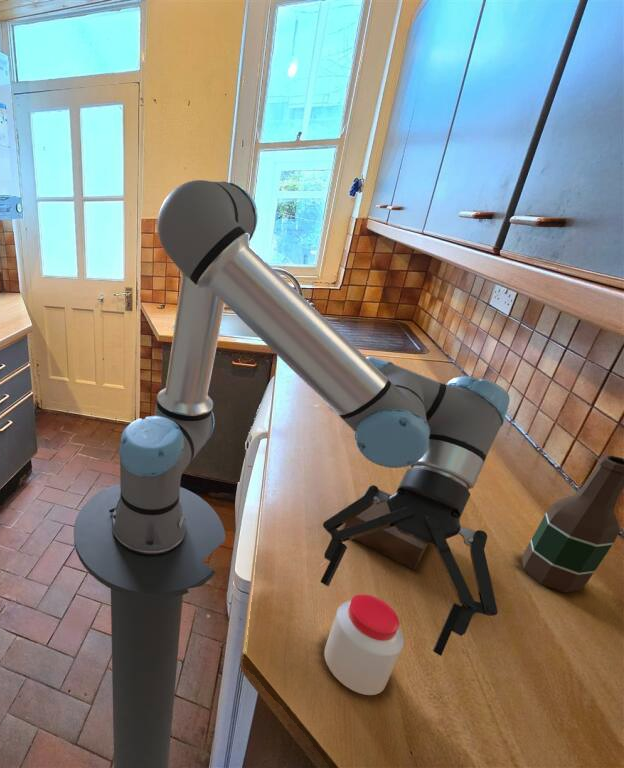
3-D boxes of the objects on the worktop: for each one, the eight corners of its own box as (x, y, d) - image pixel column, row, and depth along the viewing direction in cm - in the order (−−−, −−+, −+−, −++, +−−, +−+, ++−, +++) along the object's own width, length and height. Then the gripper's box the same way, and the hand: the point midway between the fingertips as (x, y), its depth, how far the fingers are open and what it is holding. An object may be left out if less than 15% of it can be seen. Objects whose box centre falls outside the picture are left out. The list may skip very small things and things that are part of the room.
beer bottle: (588, 581, 69) (667, 465, 59) (572, 602, 66) (652, 483, 56) (528, 550, 75) (590, 441, 65) (511, 568, 72) (573, 455, 62)
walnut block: (342, 532, 80) (348, 513, 78) (365, 504, 87) (370, 486, 85) (414, 570, 72) (422, 549, 70) (432, 535, 79) (440, 515, 77)
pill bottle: (312, 643, 60) (328, 591, 55) (358, 633, 61) (377, 582, 57) (349, 701, 53) (370, 647, 49) (400, 688, 54) (425, 635, 50)
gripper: (555, 530, 52) (492, 687, 49) (348, 451, 69) (292, 564, 66) (571, 518, 47) (502, 694, 44) (342, 436, 64) (281, 558, 61)
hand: (375, 616), depth 55 cm, fingers open, 13 cm apart
